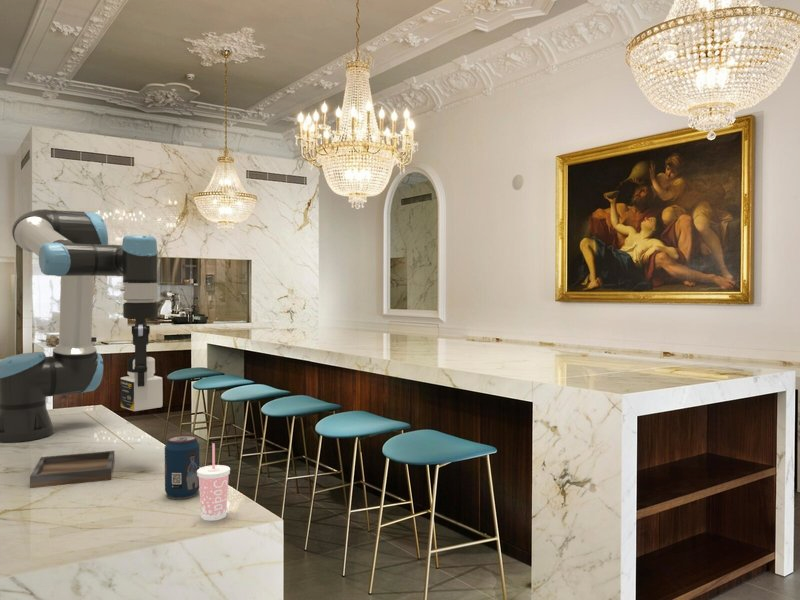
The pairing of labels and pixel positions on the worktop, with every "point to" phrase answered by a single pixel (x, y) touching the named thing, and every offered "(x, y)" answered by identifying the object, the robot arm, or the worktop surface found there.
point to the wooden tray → (73, 469)
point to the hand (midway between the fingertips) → (141, 396)
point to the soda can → (182, 466)
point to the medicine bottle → (152, 388)
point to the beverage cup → (213, 489)
